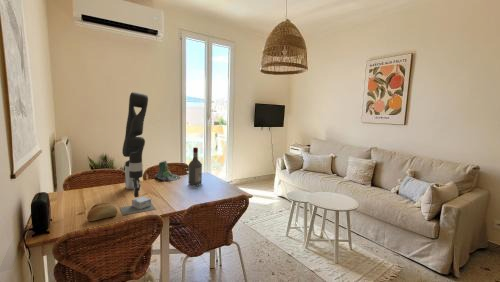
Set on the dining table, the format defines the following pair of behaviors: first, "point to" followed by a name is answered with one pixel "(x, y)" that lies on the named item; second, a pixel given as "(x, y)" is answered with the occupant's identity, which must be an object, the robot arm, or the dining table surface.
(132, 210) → the mat
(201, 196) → the dining table surface
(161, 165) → the tree stump
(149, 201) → the medicine box
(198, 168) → the liquor
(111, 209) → the bread roll
